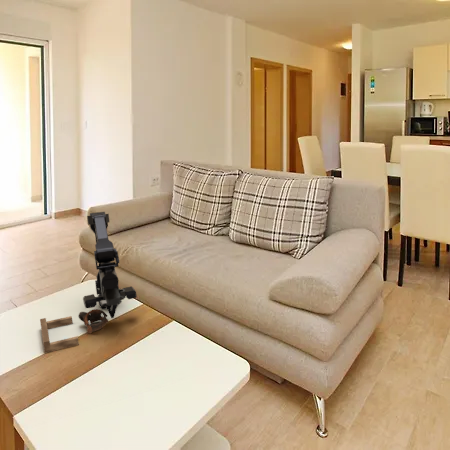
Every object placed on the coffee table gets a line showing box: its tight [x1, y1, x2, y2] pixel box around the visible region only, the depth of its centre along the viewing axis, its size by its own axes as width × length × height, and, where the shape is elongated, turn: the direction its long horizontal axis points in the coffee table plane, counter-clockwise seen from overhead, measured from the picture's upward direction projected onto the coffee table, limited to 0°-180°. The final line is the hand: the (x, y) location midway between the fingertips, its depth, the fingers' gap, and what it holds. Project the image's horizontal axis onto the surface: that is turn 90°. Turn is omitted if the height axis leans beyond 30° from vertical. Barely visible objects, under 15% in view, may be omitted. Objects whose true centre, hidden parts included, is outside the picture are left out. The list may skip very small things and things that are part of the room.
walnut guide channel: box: [39, 315, 80, 354], centre depth 152 cm, size 11×19×4 cm, turn 26°
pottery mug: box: [78, 308, 109, 334], centre depth 157 cm, size 12×10×8 cm
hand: (112, 317), depth 160 cm, fingers closed
